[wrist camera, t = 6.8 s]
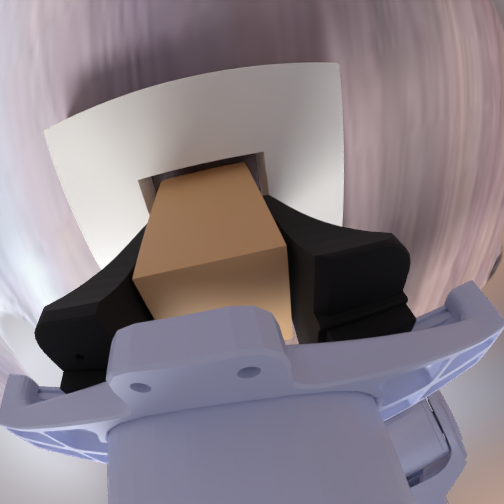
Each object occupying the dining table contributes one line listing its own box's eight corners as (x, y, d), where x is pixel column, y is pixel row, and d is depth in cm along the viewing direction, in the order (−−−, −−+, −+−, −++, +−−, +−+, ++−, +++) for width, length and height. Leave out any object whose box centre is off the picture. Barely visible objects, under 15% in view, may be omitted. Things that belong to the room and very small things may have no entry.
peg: (255, 232, 15) (292, 338, 9) (183, 248, 15) (181, 361, 9) (244, 161, 12) (286, 245, 7) (161, 180, 12) (132, 279, 7)
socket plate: (323, 264, 19) (337, 288, 17) (141, 303, 18) (138, 330, 16) (316, 63, 11) (338, 62, 9) (66, 120, 10) (43, 130, 8)
